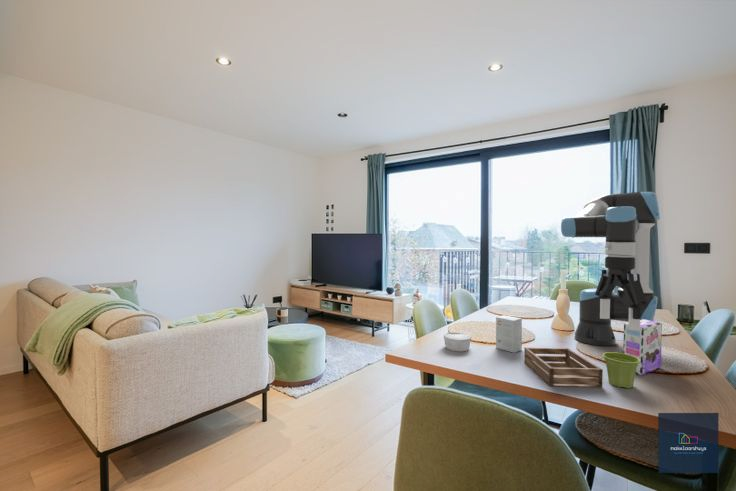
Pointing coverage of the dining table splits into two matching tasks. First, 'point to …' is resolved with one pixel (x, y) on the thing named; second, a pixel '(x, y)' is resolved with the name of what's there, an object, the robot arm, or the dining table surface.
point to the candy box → (644, 345)
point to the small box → (509, 333)
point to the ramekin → (457, 341)
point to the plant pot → (621, 368)
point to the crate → (563, 368)
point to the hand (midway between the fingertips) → (618, 323)
